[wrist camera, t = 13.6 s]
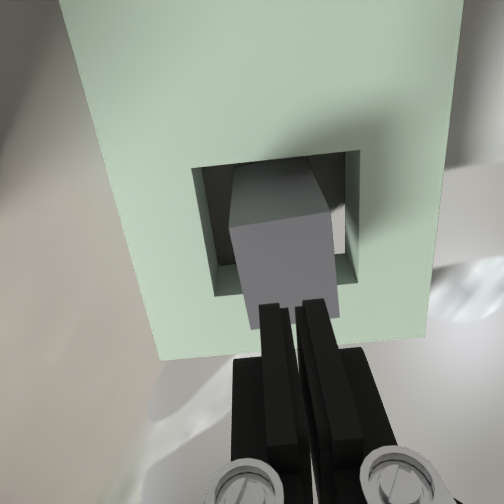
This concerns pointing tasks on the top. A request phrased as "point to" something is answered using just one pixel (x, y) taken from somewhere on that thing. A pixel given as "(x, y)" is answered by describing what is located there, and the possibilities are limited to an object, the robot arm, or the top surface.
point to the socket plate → (271, 144)
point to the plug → (282, 237)
